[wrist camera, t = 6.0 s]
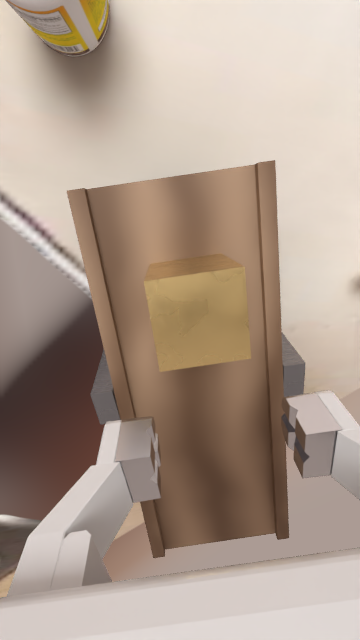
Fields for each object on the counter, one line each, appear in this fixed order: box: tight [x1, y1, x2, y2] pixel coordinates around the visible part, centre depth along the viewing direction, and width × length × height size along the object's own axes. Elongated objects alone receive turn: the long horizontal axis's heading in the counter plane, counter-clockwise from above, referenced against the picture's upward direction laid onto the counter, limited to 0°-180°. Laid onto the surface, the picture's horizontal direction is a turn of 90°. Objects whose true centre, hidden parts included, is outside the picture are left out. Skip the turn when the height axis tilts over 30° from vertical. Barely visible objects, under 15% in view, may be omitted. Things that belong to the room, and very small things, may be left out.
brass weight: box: [144, 253, 251, 372], centre depth 17 cm, size 5×5×6 cm
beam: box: [67, 160, 289, 558], centre depth 24 cm, size 12×30×3 cm, turn 7°
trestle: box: [91, 332, 305, 424], centre depth 26 cm, size 17×18×10 cm
